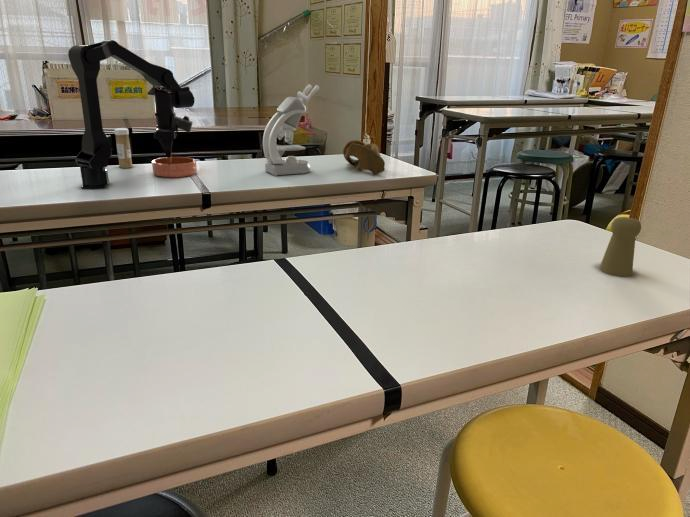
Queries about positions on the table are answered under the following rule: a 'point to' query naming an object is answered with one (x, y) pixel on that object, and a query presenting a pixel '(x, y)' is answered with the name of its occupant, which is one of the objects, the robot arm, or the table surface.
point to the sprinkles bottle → (123, 147)
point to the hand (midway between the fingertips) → (169, 156)
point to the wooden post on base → (168, 160)
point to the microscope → (286, 135)
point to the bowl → (174, 167)
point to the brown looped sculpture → (364, 156)
